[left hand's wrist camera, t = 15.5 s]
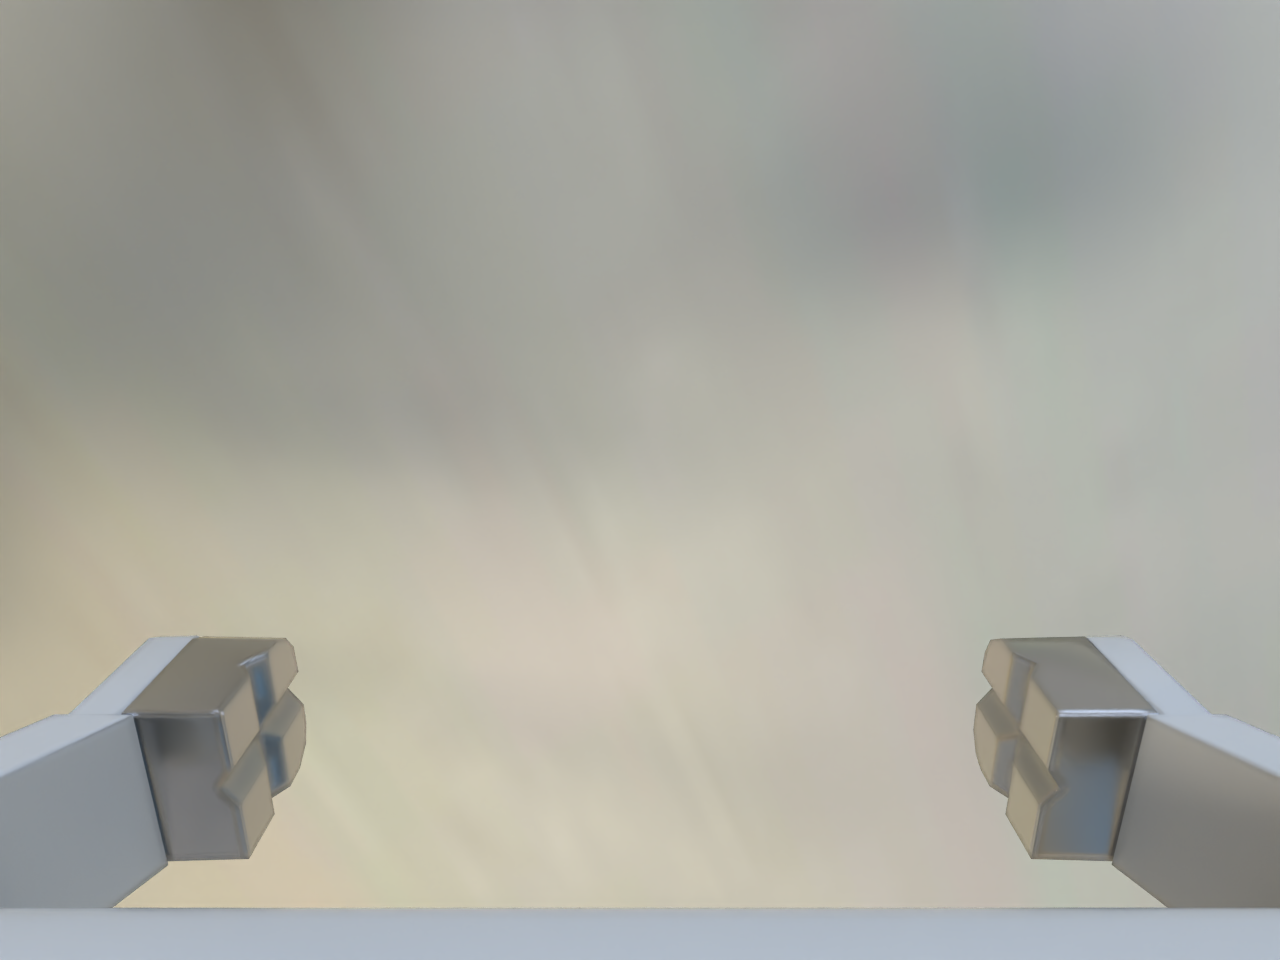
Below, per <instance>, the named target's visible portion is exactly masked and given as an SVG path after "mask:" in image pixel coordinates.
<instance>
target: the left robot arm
mask: <svg viewBox="0 0 1280 960" xmlns="http://www.w3.org/2000/svg"><path fill="white" fill-rule="evenodd" d="M297 673H298V667H297V662H296V657H295V652H294V647H293V645H292V644H291V643H290V642H289V641H288V640H287V639H286V638H261V637H209V636H203V637H199V636H160V637H153V638H149V639H148V640H147V641H146V642H144V643H143V644H142V645H141V646H140V647H139V648H138V649H137V650H136V651H135V652H134V653H133V654H132V655H131V656H130V657H129V658H128V659H126V660H125V661H124V662H123V663H122V664H121V665H120V666H119V667H118V668H117V669H116V670H115V671H114V672H113V673H112V674H111V675H110V676H109V677H107V678H106V679H105V680H104V681H103V682H102V683H101V684H100V685H99V686H98V687H97V688H96V689H95V690H94V691H93V692H92V693H91V694H90V695H88V696H87V697H86V698H85V699H84V700H83V701H82V702H81V703H80V704H79V705H78V706H77V707H76V708H75V709H74V710H73V711H72V712H70V713H69V714H68V715H52V716H49V717H47V718H45V719H42V720H40V721H38V722H35V723H33V724H31V725H28V726H26V727H23V728H21V729H19V730H16V731H14V732H12V733H9V734H7V735H5V736H2V737H0V960H1280V737H1278V736H1275V735H1273V734H1271V733H1268V732H1266V731H1264V730H1261V729H1259V728H1256V727H1254V726H1252V725H1249V724H1247V723H1245V722H1242V721H1240V720H1238V719H1235V718H1233V717H1231V716H1228V715H1212V714H1211V713H1210V712H1209V711H1207V710H1206V709H1205V708H1204V707H1203V706H1202V705H1201V704H1200V703H1199V702H1198V701H1197V700H1196V699H1195V698H1194V697H1193V696H1192V695H1191V694H1190V693H1189V692H1187V691H1186V690H1185V689H1184V688H1183V687H1182V686H1181V685H1180V684H1179V683H1178V682H1177V681H1176V680H1175V679H1174V678H1173V677H1172V676H1171V675H1170V674H1168V673H1167V672H1166V671H1165V670H1164V669H1163V668H1162V667H1161V666H1160V665H1159V664H1158V663H1157V662H1156V661H1155V660H1154V659H1153V658H1152V657H1151V656H1150V655H1148V654H1147V653H1146V652H1145V651H1144V650H1143V649H1142V648H1141V647H1140V646H1139V645H1138V644H1137V643H1136V642H1135V641H1134V640H1133V639H1130V638H1127V637H1124V636H1121V635H1116V636H1092V637H1047V638H1006V639H994V640H990V642H989V645H988V647H987V649H986V651H985V655H984V660H983V666H982V673H983V674H984V676H985V678H986V679H987V681H988V682H989V684H990V685H991V687H992V689H991V690H990V691H989V692H988V693H987V694H986V695H985V696H984V697H983V698H982V699H981V700H980V701H979V702H978V703H977V704H976V712H975V720H974V729H973V730H974V740H975V750H976V755H977V759H978V762H979V765H980V768H981V771H982V773H983V775H984V776H985V778H986V780H987V782H988V784H989V786H990V787H992V788H993V789H995V790H997V791H998V792H1000V793H1001V794H1003V795H1004V796H1006V797H1007V798H1008V802H1007V808H1006V816H1007V818H1008V819H1009V821H1010V823H1011V825H1012V826H1013V828H1014V830H1015V832H1016V833H1017V835H1018V837H1019V838H1020V840H1021V842H1022V844H1023V845H1024V847H1025V849H1026V851H1027V852H1028V854H1029V856H1030V858H1031V859H1054V860H1090V861H1113V862H1112V865H1113V866H1114V867H1115V868H1117V869H1118V870H1119V871H1121V872H1122V873H1123V874H1125V875H1126V876H1127V877H1129V878H1130V879H1131V880H1132V881H1134V882H1135V883H1136V884H1138V885H1139V886H1140V887H1142V888H1143V889H1144V890H1145V891H1147V892H1148V893H1149V894H1151V895H1152V896H1153V897H1155V898H1156V899H1157V900H1159V901H1160V902H1161V903H1162V904H1164V905H1165V906H1166V907H1168V908H113V907H114V906H115V905H117V904H118V903H119V902H120V901H122V900H123V899H124V898H126V897H127V896H128V895H130V894H131V893H132V892H134V891H135V890H136V889H137V888H139V887H140V886H141V885H143V884H144V883H145V882H147V881H148V880H149V879H150V878H152V877H153V876H154V875H156V874H157V873H158V872H160V871H161V870H162V869H164V868H165V867H166V866H167V865H168V862H167V861H189V860H224V859H249V858H250V856H251V854H252V853H253V851H254V849H255V847H256V846H257V844H258V842H259V840H260V839H261V837H262V835H263V833H264V832H265V830H266V828H267V826H268V825H269V823H270V821H271V819H272V818H273V816H274V808H273V802H272V798H273V797H274V796H276V795H277V794H279V793H280V792H282V791H283V790H285V789H287V788H288V787H290V786H291V784H292V782H293V780H294V778H295V776H296V774H297V773H298V771H299V769H300V766H301V761H302V757H303V753H304V749H305V745H306V718H305V711H304V704H303V703H302V702H301V701H300V700H299V699H298V698H297V697H296V696H295V695H294V694H293V693H292V692H291V691H290V690H289V689H288V687H289V685H290V684H291V682H292V681H293V679H294V678H295V676H296V674H297Z"/></svg>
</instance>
